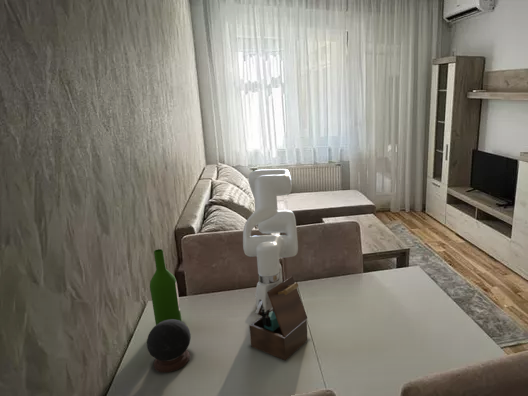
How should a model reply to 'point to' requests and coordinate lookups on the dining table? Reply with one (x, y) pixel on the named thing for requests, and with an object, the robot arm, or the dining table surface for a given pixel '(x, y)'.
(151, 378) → the dining table surface
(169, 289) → the wine bottle
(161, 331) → the ball on stand
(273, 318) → the block
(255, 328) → the chest
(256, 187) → the robot arm
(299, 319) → the chest lid
